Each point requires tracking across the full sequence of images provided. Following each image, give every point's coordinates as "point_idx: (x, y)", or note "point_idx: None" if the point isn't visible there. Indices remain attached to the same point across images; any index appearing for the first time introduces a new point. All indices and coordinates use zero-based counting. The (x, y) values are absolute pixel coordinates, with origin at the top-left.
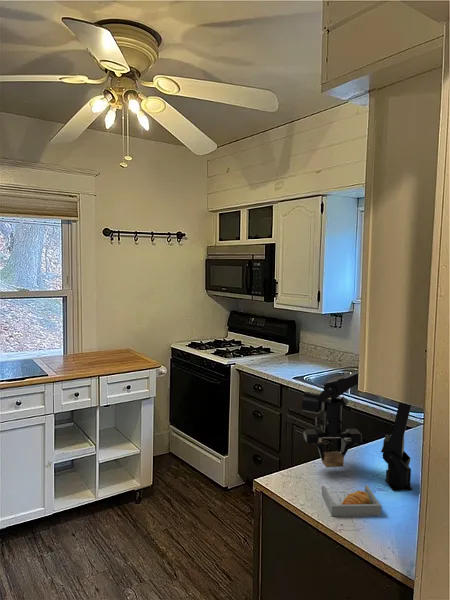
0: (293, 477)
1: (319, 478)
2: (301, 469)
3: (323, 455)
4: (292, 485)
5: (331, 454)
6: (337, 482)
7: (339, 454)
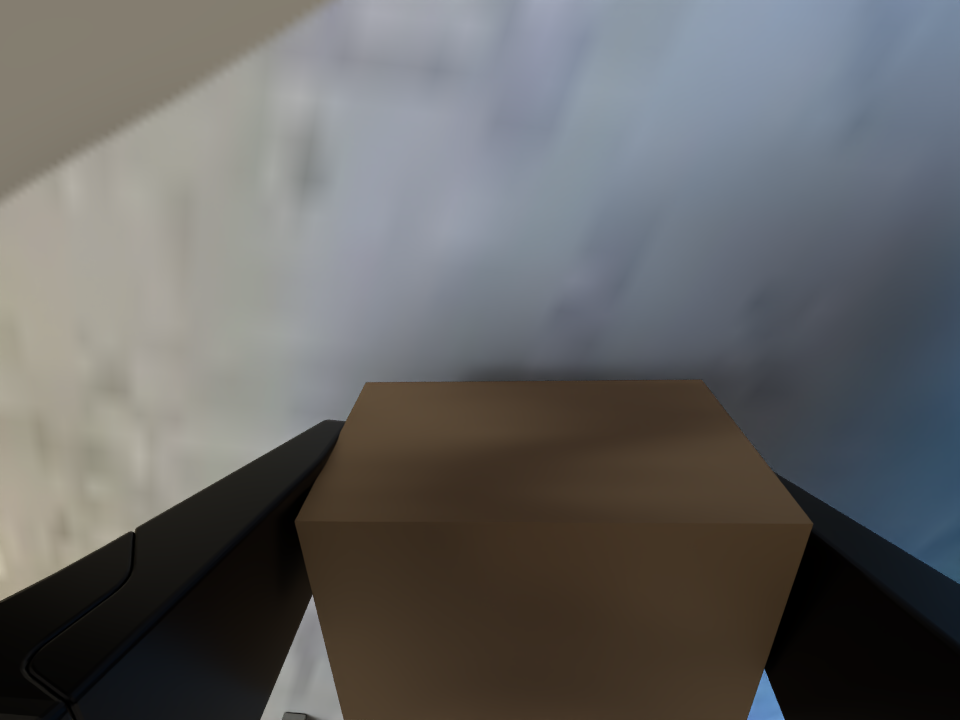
0: (8, 446)
1: None
2: (95, 264)
3: (303, 612)
4: (20, 575)
5: (499, 641)
6: None
7: (700, 657)
